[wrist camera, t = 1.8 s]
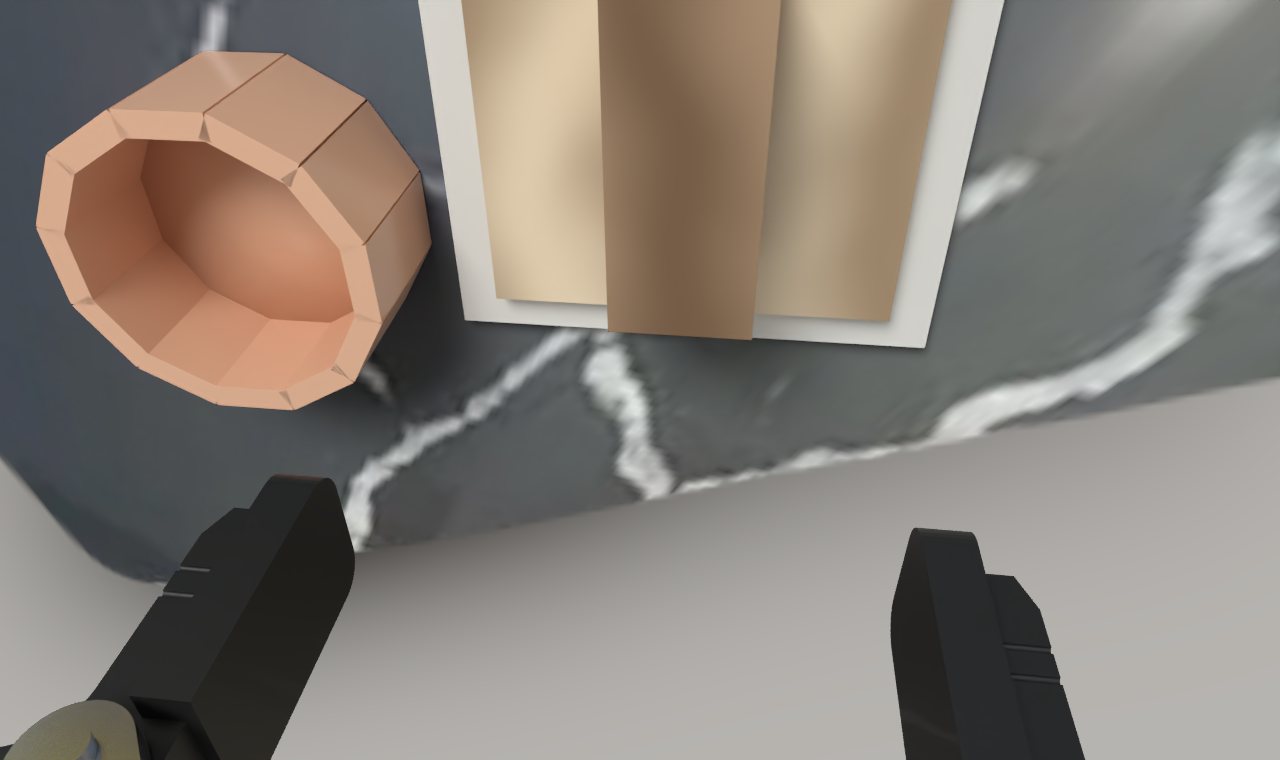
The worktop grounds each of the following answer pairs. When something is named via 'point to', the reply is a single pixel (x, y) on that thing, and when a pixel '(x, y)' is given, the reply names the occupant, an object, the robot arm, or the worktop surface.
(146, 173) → the bowl
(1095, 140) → the worktop surface
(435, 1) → the mat
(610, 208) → the lid
